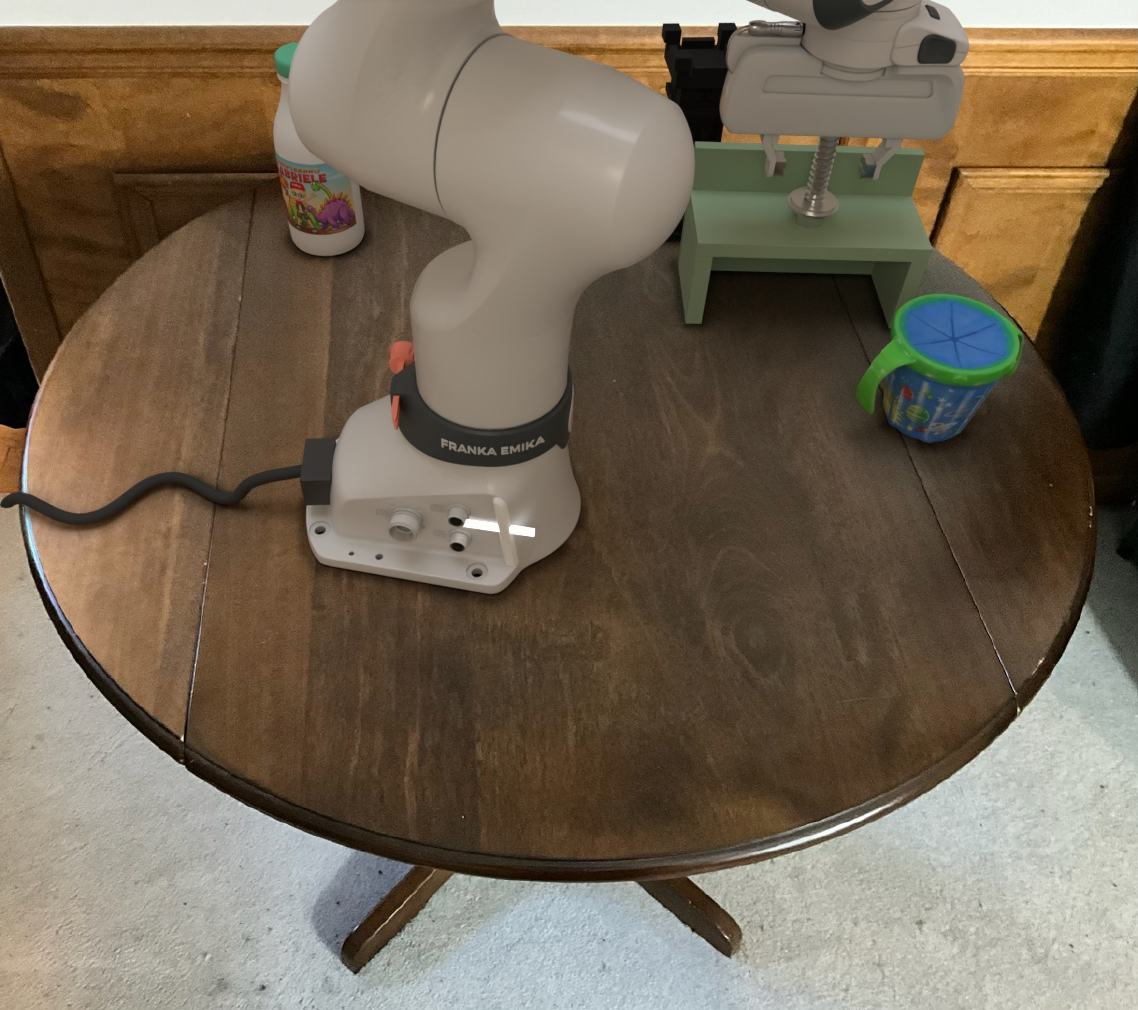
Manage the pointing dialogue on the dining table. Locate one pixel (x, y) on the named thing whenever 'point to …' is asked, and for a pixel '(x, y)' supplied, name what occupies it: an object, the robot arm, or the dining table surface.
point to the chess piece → (697, 83)
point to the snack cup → (940, 364)
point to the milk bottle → (313, 184)
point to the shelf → (778, 244)
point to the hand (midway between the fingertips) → (820, 175)
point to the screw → (816, 188)
